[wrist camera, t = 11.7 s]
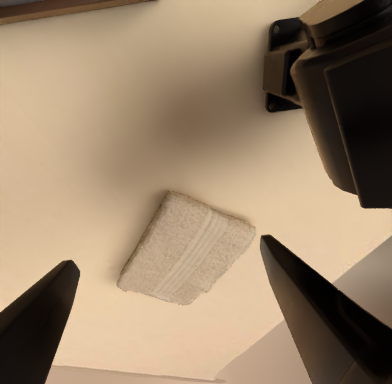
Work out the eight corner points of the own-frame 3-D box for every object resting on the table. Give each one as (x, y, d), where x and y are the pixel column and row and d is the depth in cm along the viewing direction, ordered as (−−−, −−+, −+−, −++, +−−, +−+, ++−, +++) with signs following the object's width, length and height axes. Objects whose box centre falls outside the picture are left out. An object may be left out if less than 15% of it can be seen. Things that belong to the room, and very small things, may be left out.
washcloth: (117, 275, 30) (110, 295, 28) (168, 182, 22) (166, 198, 20) (187, 294, 34) (188, 314, 31) (254, 220, 26) (261, 237, 23)
